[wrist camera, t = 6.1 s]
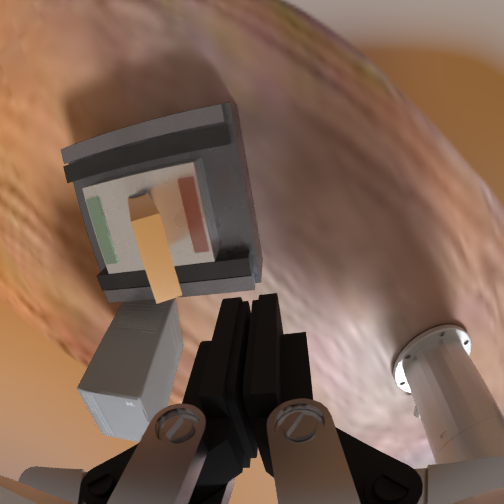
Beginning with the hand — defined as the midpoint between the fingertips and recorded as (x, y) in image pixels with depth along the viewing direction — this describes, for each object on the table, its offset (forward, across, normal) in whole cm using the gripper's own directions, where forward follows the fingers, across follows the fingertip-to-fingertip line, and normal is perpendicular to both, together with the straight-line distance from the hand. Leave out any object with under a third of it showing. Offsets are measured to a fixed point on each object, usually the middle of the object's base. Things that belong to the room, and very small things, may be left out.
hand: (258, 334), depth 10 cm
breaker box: (+23, +10, 0) cm, 25 cm away
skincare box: (+23, +16, +15) cm, 32 cm away
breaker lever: (+15, +10, 0) cm, 18 cm away
